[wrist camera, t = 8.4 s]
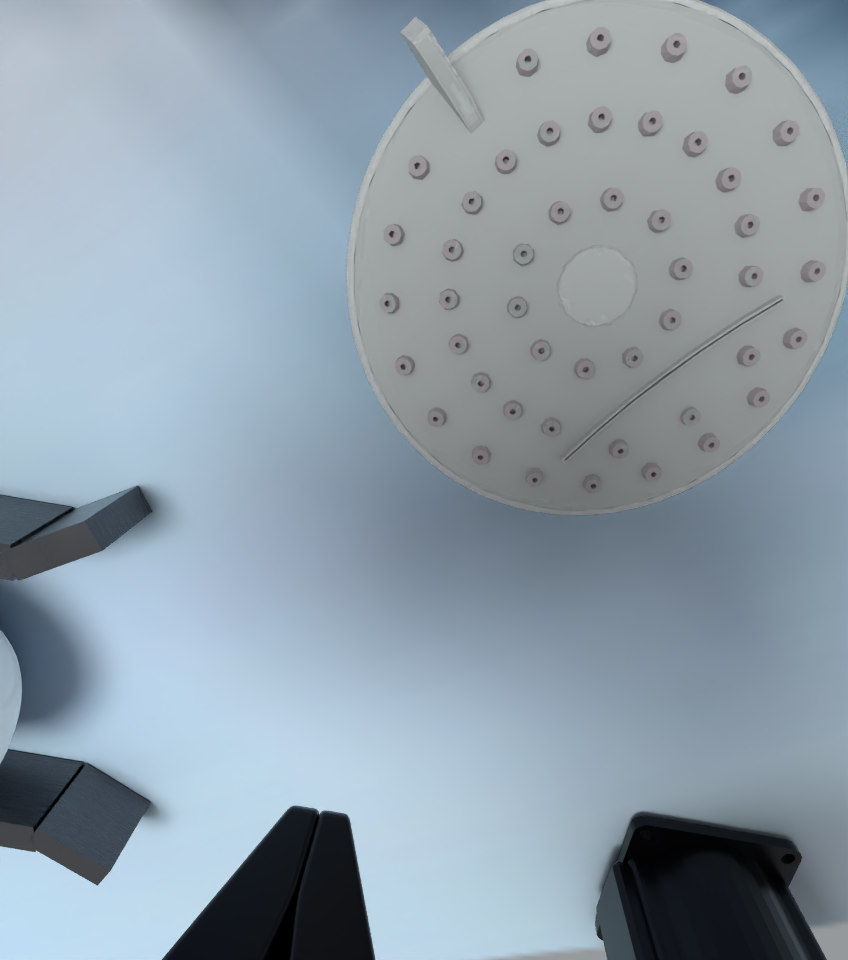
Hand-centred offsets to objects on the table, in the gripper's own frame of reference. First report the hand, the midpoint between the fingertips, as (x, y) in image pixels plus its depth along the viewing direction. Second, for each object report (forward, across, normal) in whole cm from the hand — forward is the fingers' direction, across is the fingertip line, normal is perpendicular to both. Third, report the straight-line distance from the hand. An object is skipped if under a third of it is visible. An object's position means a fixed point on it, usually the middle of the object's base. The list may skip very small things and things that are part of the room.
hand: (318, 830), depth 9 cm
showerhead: (+12, -3, -8) cm, 15 cm away
